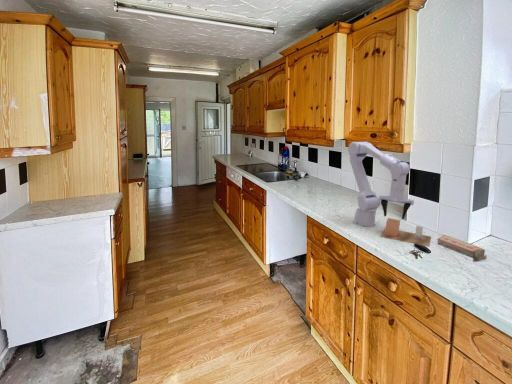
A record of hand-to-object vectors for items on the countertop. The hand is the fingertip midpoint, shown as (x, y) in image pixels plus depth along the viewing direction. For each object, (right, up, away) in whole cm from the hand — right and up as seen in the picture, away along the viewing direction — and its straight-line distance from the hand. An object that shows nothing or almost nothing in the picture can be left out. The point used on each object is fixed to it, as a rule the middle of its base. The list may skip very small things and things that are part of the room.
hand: (393, 217), depth 141 cm
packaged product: (+21, -14, -13) cm, 28 cm away
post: (+9, -10, -4) cm, 14 cm away
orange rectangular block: (0, -8, +2) cm, 8 cm away
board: (+5, -10, -1) cm, 11 cm away
